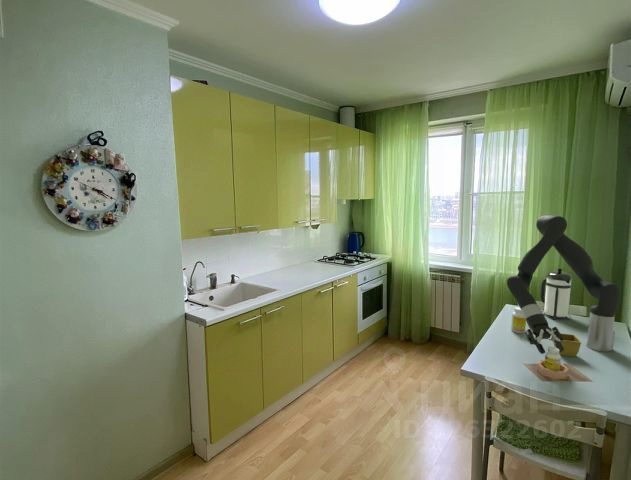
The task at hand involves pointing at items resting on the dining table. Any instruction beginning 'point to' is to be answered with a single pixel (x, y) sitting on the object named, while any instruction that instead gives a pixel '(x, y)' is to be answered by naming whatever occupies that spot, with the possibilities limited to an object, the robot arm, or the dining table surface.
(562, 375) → the octagonal planter bowl
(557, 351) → the supplement bottle
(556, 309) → the coffee press
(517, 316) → the supplement bottle
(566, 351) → the flower pot
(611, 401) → the dining table surface
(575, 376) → the walnut board
